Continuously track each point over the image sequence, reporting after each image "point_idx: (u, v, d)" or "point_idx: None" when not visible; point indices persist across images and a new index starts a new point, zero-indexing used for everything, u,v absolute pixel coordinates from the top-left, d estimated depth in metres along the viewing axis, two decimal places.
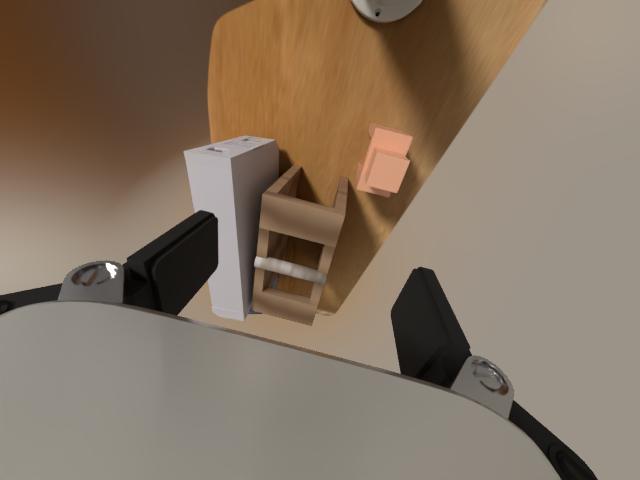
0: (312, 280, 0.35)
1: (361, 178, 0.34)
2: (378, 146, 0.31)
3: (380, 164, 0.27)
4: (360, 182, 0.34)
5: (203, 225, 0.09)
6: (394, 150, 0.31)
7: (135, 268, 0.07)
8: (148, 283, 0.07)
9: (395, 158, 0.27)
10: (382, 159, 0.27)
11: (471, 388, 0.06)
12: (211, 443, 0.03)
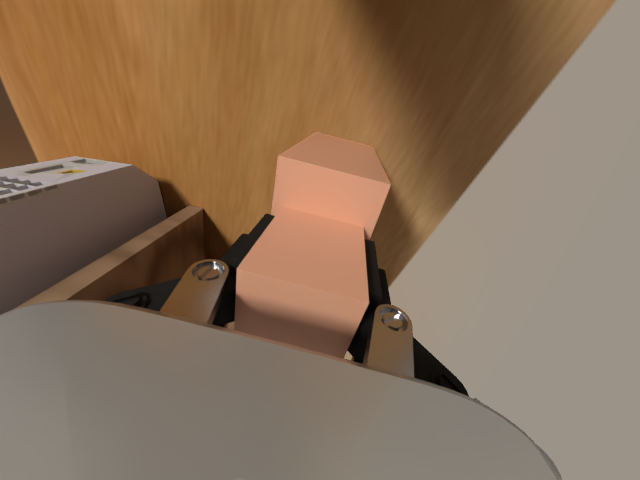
0: None
1: None
2: (295, 206, 0.11)
3: (261, 303, 0.07)
4: None
5: None
6: (340, 218, 0.11)
7: (235, 266, 0.08)
8: None
9: (311, 291, 0.07)
10: (261, 289, 0.07)
11: (384, 336, 0.07)
12: (211, 443, 0.03)
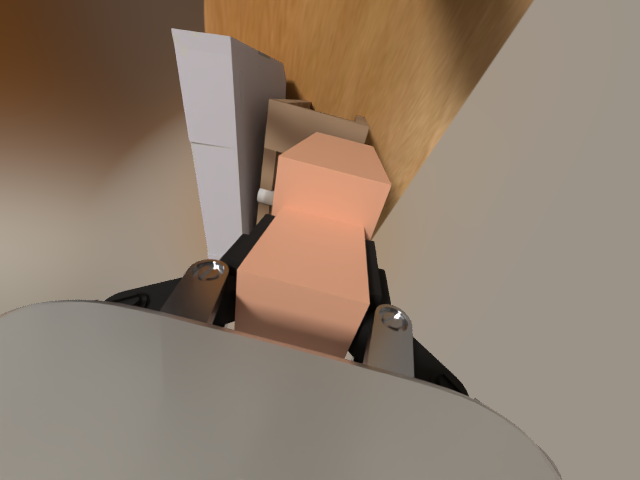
0: None
1: None
2: (295, 207, 0.11)
3: (262, 304, 0.07)
4: None
5: None
6: (340, 218, 0.11)
7: (235, 266, 0.08)
8: None
9: (311, 291, 0.07)
10: (262, 290, 0.07)
11: (384, 336, 0.07)
12: (211, 443, 0.03)
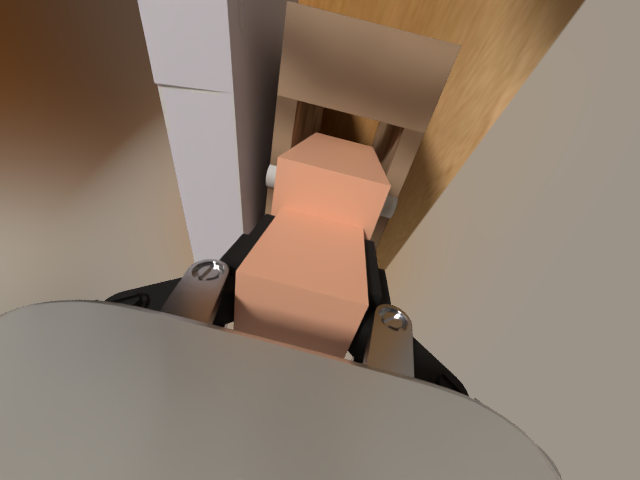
0: None
1: None
2: (294, 208, 0.11)
3: (261, 305, 0.07)
4: None
5: None
6: (340, 219, 0.11)
7: (235, 265, 0.08)
8: None
9: (310, 293, 0.07)
10: (261, 292, 0.07)
11: (384, 336, 0.07)
12: (211, 443, 0.03)
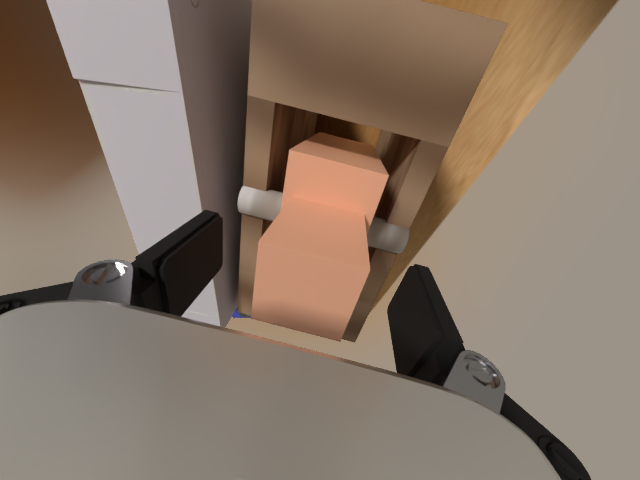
0: (374, 242, 0.15)
1: None
2: (303, 196, 0.12)
3: (278, 273, 0.09)
4: None
5: (208, 225, 0.09)
6: (343, 206, 0.12)
7: (143, 267, 0.07)
8: (156, 282, 0.07)
9: (321, 260, 0.08)
10: (279, 259, 0.08)
11: (464, 383, 0.06)
12: (211, 443, 0.03)
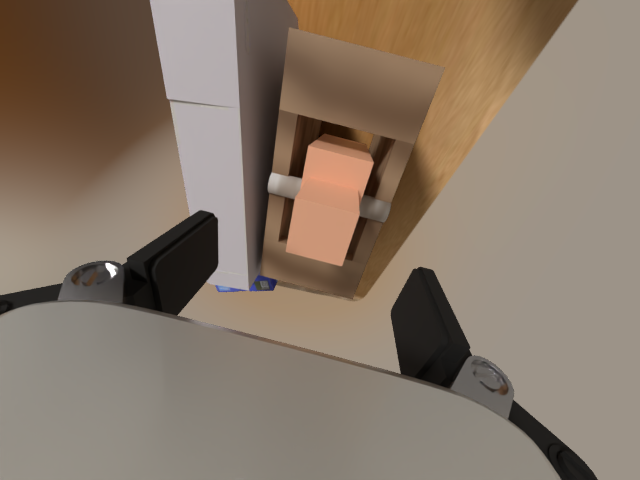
0: (366, 213, 0.21)
1: None
2: (316, 177, 0.18)
3: (305, 218, 0.14)
4: None
5: (203, 225, 0.09)
6: (344, 184, 0.18)
7: (135, 268, 0.07)
8: (148, 283, 0.07)
9: (331, 208, 0.14)
10: (306, 209, 0.14)
11: (471, 388, 0.06)
12: (211, 443, 0.03)
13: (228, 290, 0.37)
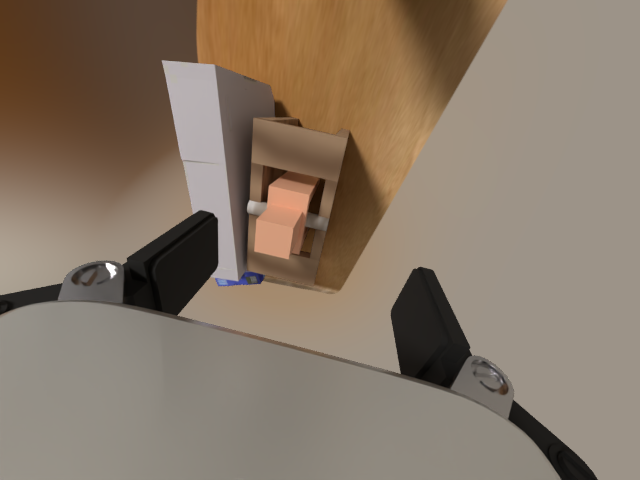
0: (312, 225, 0.31)
1: None
2: (276, 204, 0.29)
3: (263, 230, 0.25)
4: None
5: (203, 225, 0.09)
6: (293, 208, 0.29)
7: (135, 268, 0.07)
8: (148, 283, 0.07)
9: (277, 225, 0.24)
10: (263, 225, 0.24)
11: (471, 388, 0.06)
12: (211, 443, 0.03)
13: (226, 284, 0.47)
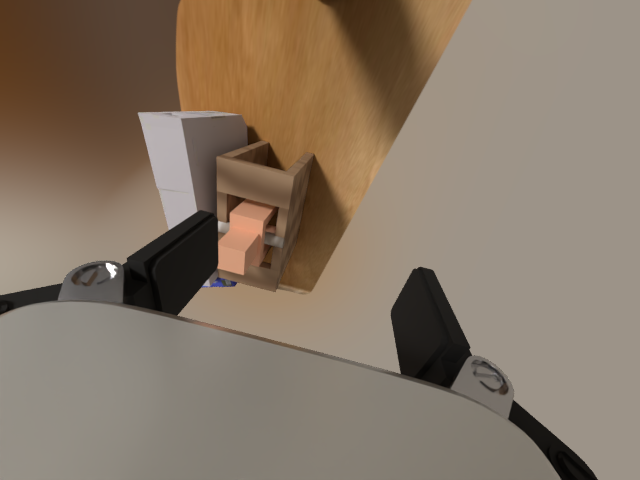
0: (270, 243, 0.37)
1: None
2: (236, 227, 0.34)
3: (221, 253, 0.31)
4: None
5: (203, 225, 0.09)
6: (251, 231, 0.34)
7: (135, 268, 0.07)
8: (148, 283, 0.07)
9: (232, 249, 0.30)
10: (221, 249, 0.30)
11: (471, 388, 0.06)
12: (211, 443, 0.03)
13: (204, 286, 0.53)
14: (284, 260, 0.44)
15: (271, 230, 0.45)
